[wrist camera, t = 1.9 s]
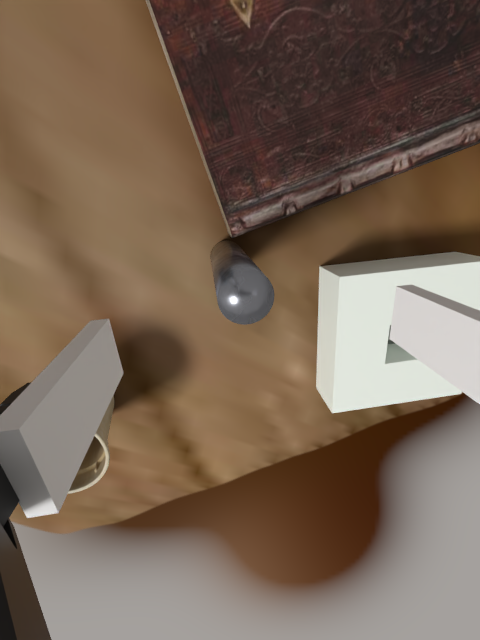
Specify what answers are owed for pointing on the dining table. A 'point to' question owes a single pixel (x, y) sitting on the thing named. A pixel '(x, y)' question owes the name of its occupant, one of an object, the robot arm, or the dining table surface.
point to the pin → (240, 284)
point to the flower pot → (95, 456)
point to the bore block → (382, 328)
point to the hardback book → (319, 94)
